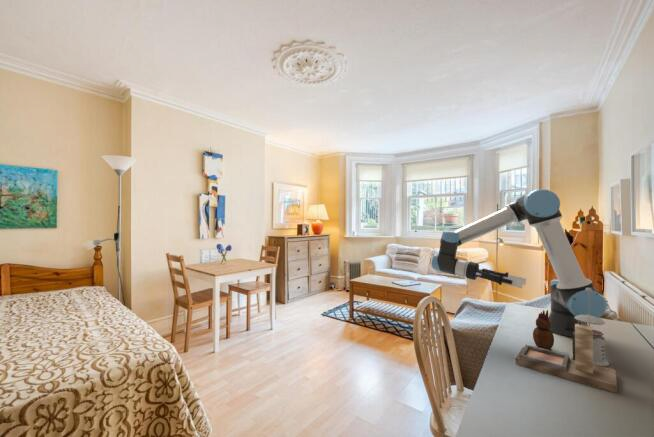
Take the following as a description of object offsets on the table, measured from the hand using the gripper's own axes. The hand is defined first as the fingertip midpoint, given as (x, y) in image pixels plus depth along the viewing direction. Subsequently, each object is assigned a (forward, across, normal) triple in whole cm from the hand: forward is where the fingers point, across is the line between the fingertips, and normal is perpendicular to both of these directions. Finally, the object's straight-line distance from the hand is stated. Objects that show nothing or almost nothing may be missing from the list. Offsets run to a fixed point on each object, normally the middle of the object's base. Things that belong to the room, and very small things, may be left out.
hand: (524, 283), depth 115 cm
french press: (+22, 0, -21) cm, 30 cm away
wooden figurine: (+10, 0, -23) cm, 25 cm away
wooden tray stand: (+15, +17, -23) cm, 32 cm away
